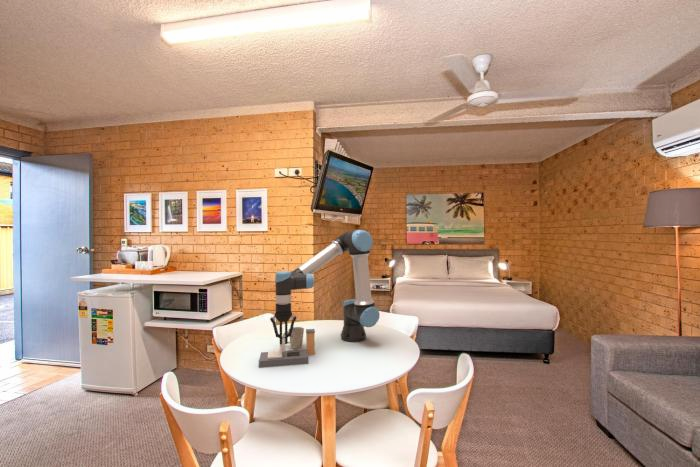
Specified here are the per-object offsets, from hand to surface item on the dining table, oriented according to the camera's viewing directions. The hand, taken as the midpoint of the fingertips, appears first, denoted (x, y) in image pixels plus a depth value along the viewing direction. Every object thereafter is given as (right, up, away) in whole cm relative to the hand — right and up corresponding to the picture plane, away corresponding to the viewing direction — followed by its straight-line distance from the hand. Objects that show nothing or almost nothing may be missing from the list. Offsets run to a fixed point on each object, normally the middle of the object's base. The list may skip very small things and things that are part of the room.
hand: (283, 350), depth 160 cm
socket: (0, -5, 0) cm, 5 cm away
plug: (+12, -5, +10) cm, 17 cm away
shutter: (-4, -2, -1) cm, 4 cm away
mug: (+1, -5, +20) cm, 21 cm away
